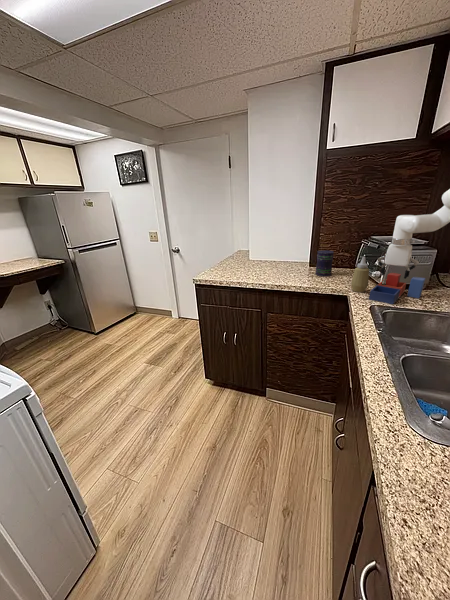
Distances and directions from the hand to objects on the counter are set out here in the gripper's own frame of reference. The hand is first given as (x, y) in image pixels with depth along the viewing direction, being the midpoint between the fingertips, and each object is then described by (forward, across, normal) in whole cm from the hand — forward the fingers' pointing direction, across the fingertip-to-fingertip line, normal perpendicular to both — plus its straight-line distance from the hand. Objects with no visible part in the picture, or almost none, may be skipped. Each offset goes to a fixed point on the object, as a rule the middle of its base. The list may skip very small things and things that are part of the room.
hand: (393, 276), depth 125 cm
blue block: (+8, -10, 0) cm, 13 cm away
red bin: (+8, 0, 0) cm, 8 cm away
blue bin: (+8, 0, +12) cm, 15 cm away
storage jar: (+8, +41, -12) cm, 44 cm away
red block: (+8, 0, 0) cm, 8 cm away
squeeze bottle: (+8, +13, +7) cm, 17 cm away
